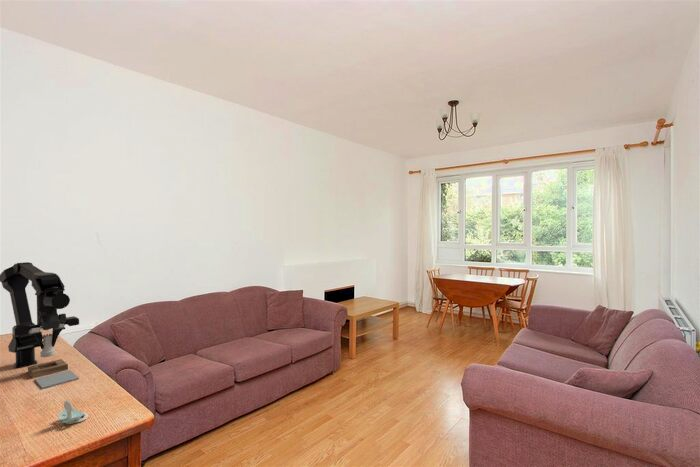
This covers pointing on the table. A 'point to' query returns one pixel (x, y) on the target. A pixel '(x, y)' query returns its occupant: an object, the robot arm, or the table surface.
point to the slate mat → (56, 379)
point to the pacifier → (71, 414)
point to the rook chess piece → (47, 346)
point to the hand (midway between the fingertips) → (47, 347)
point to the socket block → (47, 368)
